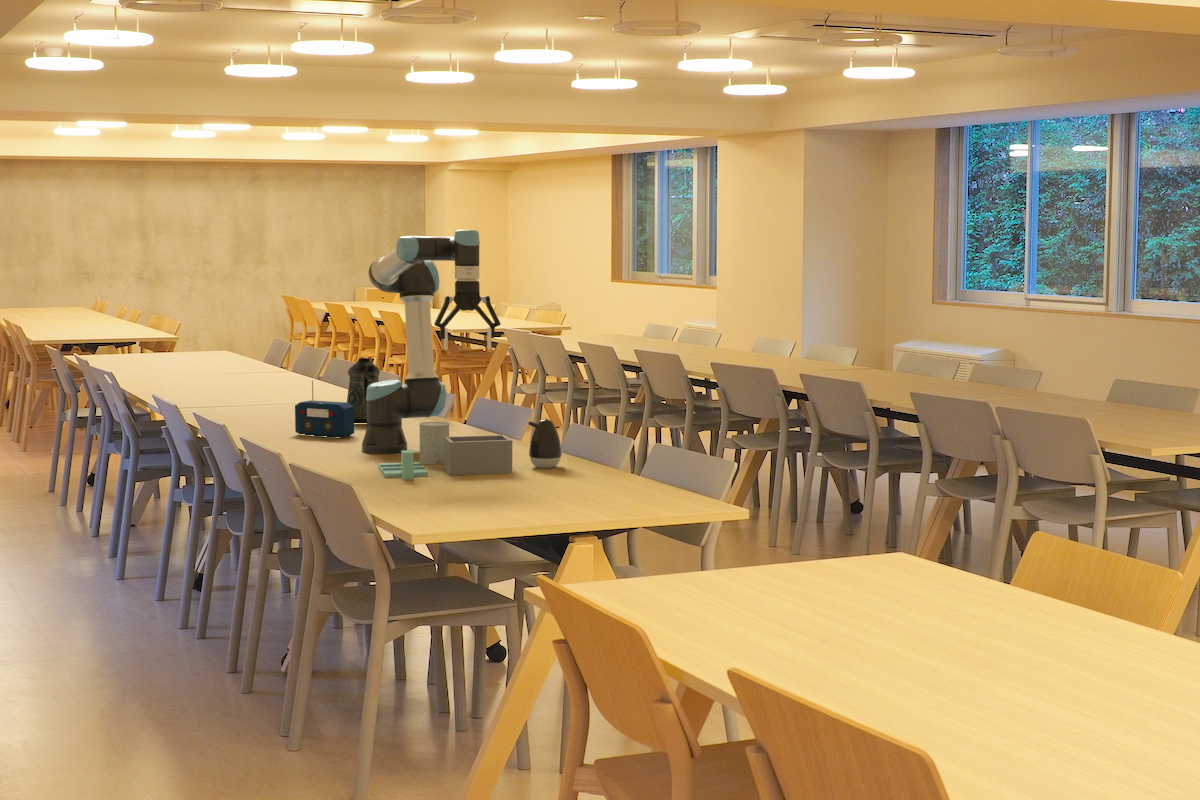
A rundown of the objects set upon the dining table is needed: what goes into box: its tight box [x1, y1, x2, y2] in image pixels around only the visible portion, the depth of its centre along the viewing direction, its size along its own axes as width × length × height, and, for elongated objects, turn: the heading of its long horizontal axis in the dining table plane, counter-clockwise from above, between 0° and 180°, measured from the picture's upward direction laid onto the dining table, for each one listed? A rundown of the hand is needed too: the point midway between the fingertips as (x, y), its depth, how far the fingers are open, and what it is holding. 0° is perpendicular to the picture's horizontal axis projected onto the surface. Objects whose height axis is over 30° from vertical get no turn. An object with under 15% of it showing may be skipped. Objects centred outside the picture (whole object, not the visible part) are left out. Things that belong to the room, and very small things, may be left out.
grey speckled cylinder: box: [418, 421, 450, 465], centre depth 409 cm, size 10×10×12 cm
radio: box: [294, 380, 355, 439], centre depth 465 cm, size 21×9×20 cm, turn 67°
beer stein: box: [346, 357, 381, 423], centre depth 501 cm, size 16×19×25 cm
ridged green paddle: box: [378, 449, 429, 481], centre depth 389 cm, size 13×25×8 cm, turn 15°
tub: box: [443, 434, 513, 476], centre depth 393 cm, size 12×19×10 cm, turn 105°
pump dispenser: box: [527, 418, 563, 469], centre depth 400 cm, size 10×10×15 cm
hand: (467, 349), depth 398 cm, fingers open, 13 cm apart
